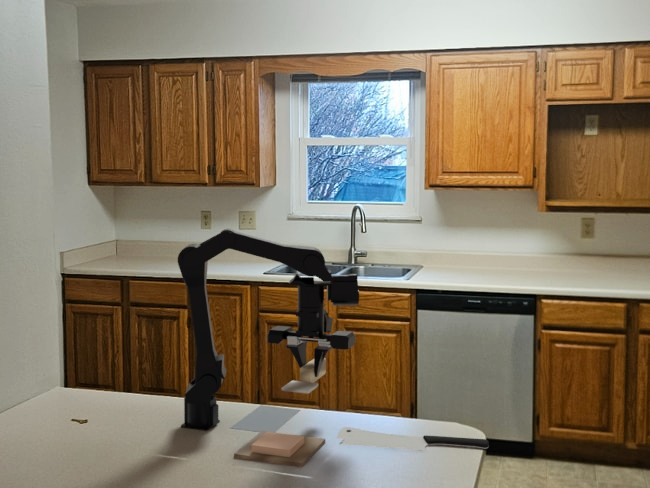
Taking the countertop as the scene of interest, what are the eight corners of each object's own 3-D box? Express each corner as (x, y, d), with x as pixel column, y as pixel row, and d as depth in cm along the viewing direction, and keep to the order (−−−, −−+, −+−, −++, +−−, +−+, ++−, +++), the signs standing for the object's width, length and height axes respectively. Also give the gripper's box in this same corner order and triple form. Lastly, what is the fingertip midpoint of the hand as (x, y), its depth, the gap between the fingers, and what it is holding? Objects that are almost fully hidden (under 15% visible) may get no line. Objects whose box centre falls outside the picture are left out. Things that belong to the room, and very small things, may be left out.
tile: (267, 439, 160) (251, 452, 152) (267, 431, 159) (251, 444, 152) (304, 444, 157) (289, 458, 149) (304, 436, 157) (289, 450, 149)
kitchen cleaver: (332, 444, 159) (340, 423, 168) (332, 452, 159) (340, 430, 168) (489, 457, 153) (488, 434, 162) (488, 465, 153) (488, 442, 163)
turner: (281, 390, 163) (281, 374, 163) (308, 371, 178) (308, 356, 178) (308, 393, 161) (308, 377, 161) (333, 374, 176) (333, 359, 176)
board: (233, 458, 152) (233, 453, 151) (262, 435, 165) (262, 430, 165) (301, 468, 147) (301, 463, 147) (325, 443, 160) (325, 438, 160)
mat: (229, 429, 168) (229, 427, 168) (260, 406, 184) (260, 405, 184) (272, 434, 165) (272, 433, 165) (300, 411, 181) (300, 409, 181)
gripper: (362, 302, 174) (362, 371, 175) (285, 297, 180) (285, 363, 181) (347, 311, 163) (347, 384, 165) (265, 305, 169) (265, 375, 171)
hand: (310, 376), depth 171 cm, fingers closed on turner, 2 cm apart
